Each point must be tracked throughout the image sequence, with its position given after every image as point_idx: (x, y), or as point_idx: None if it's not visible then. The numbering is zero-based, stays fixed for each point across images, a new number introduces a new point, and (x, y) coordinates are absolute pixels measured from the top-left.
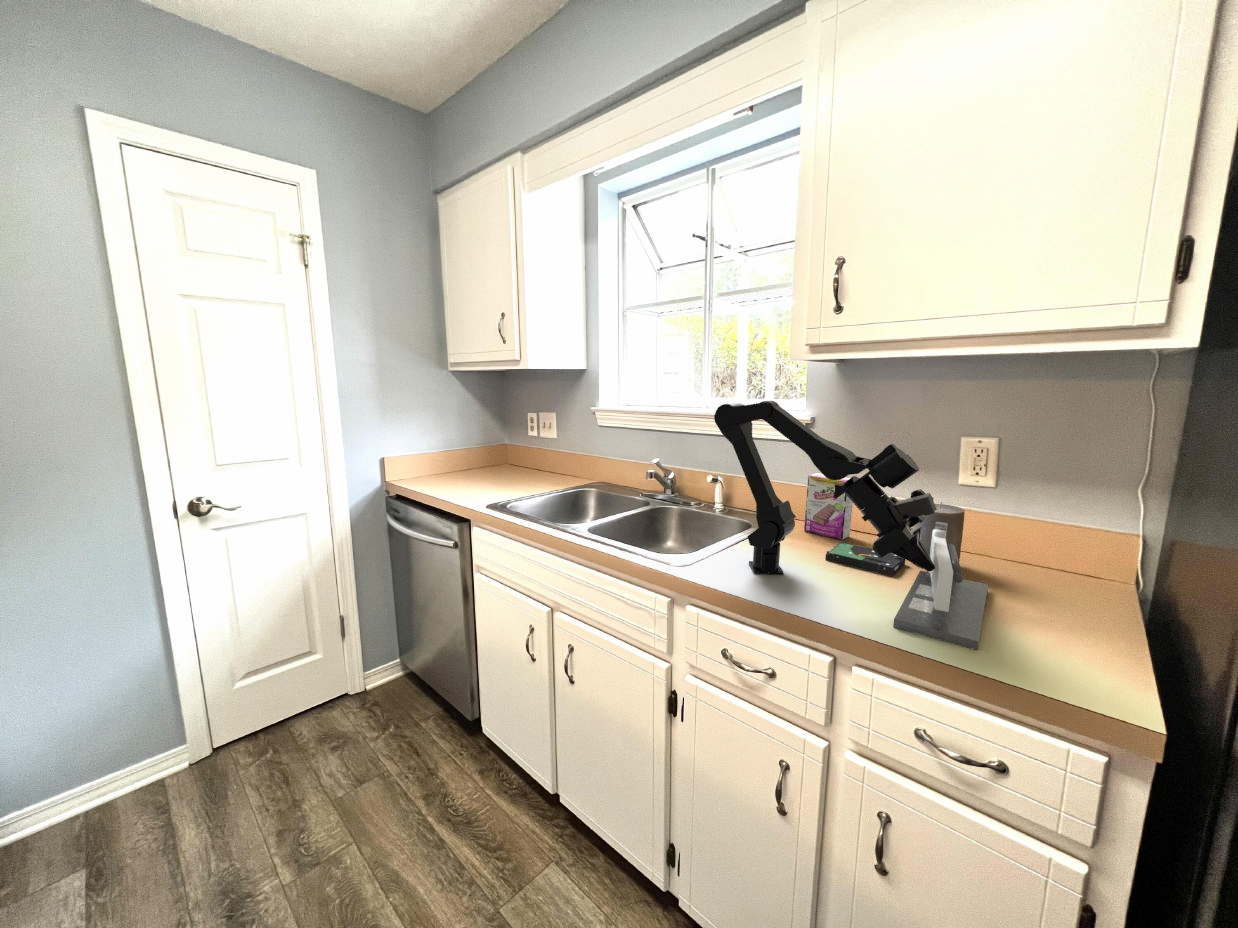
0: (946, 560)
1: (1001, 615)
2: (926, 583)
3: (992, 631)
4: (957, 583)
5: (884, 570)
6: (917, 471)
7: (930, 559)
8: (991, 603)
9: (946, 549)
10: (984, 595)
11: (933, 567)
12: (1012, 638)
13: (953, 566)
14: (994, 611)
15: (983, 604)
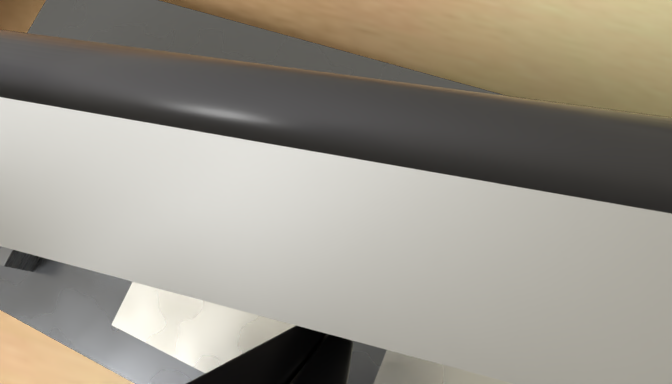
0: (628, 267)
1: (356, 5)
2: (85, 276)
3: (585, 91)
4: None
5: None
6: None
7: (251, 370)
8: (221, 12)
9: (71, 126)
10: (205, 20)
11: (350, 351)
12: (637, 25)
13: (641, 191)
14: (315, 22)
15: (331, 53)
